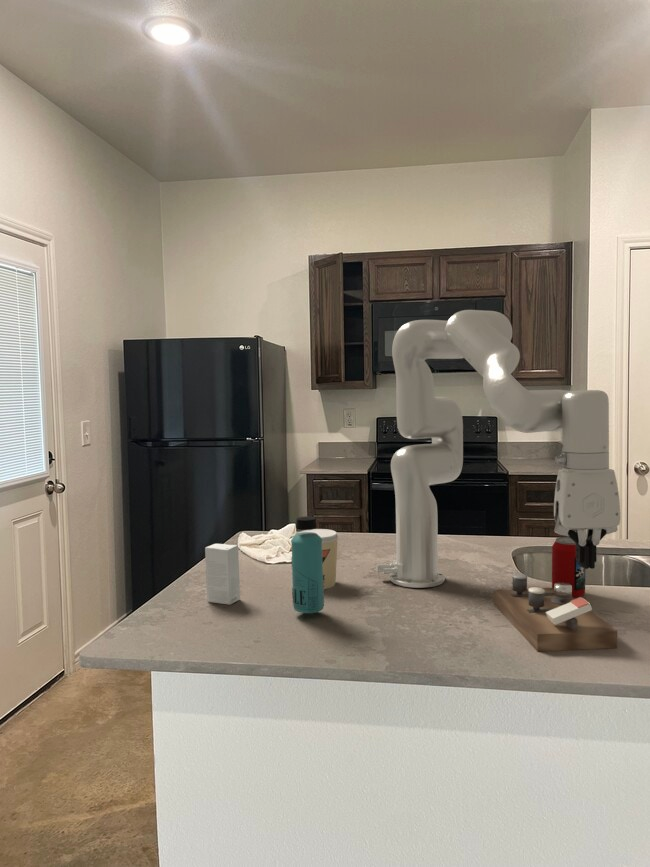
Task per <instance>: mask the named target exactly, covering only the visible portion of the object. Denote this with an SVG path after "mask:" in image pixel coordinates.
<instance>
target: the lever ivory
mask: <svg viewBox="0 0 650 867" xmlns="http://www.w3.org/2000/svg"><path fill="white" fill-rule="evenodd" d="M542 588H543V587H539V586H538V587H537V586H536V587H533V586H531V587H529V588H527V589H528V591H529V605H530V606H532V607H533V609H534V610H540V607H544V592H545V590H544V589H542Z"/></svg>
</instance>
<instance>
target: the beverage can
mask: <svg viewBox="0 0 650 867" xmlns="http://www.w3.org/2000/svg"><path fill="white" fill-rule="evenodd" d="M551 546H552V547H551V588H554V584H555V583H568V584H571V585H572V597H573V598H575V599H577V598H579V597H583V596H584V595H585V594H586V571H587V569H584V568H583V567H581V566H579V565H578V563H577V561H576V543H575V542H573V540H572V539H571V538H570V537H569V536H559V537H557V538H555V541H554V542H553V544H552V545H551Z"/></svg>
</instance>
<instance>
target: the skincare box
mask: <svg viewBox="0 0 650 867" xmlns="http://www.w3.org/2000/svg"><path fill="white" fill-rule="evenodd" d="M204 553H205V554H204V557H205V575H206V579H205V580H206V599H207V600H206V602H207V603H212V604H213V603H215V604H222V605H229V606H231V605H233V604H234V603H235V602H237V601H240V599H241V588H240V587H241V586H240V583H241V582H240V563H239V562H240V560H239V545H238V544H237V545H236V544H224V543H213V544H211V545H208V546H206V547H204Z"/></svg>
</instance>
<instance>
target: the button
mask: <svg viewBox="0 0 650 867" xmlns="http://www.w3.org/2000/svg"><path fill="white" fill-rule="evenodd" d="M554 595H555V596H557V597H561V598H569V597H571V596H572V585H571V584H568V583H555V584H554Z"/></svg>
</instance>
